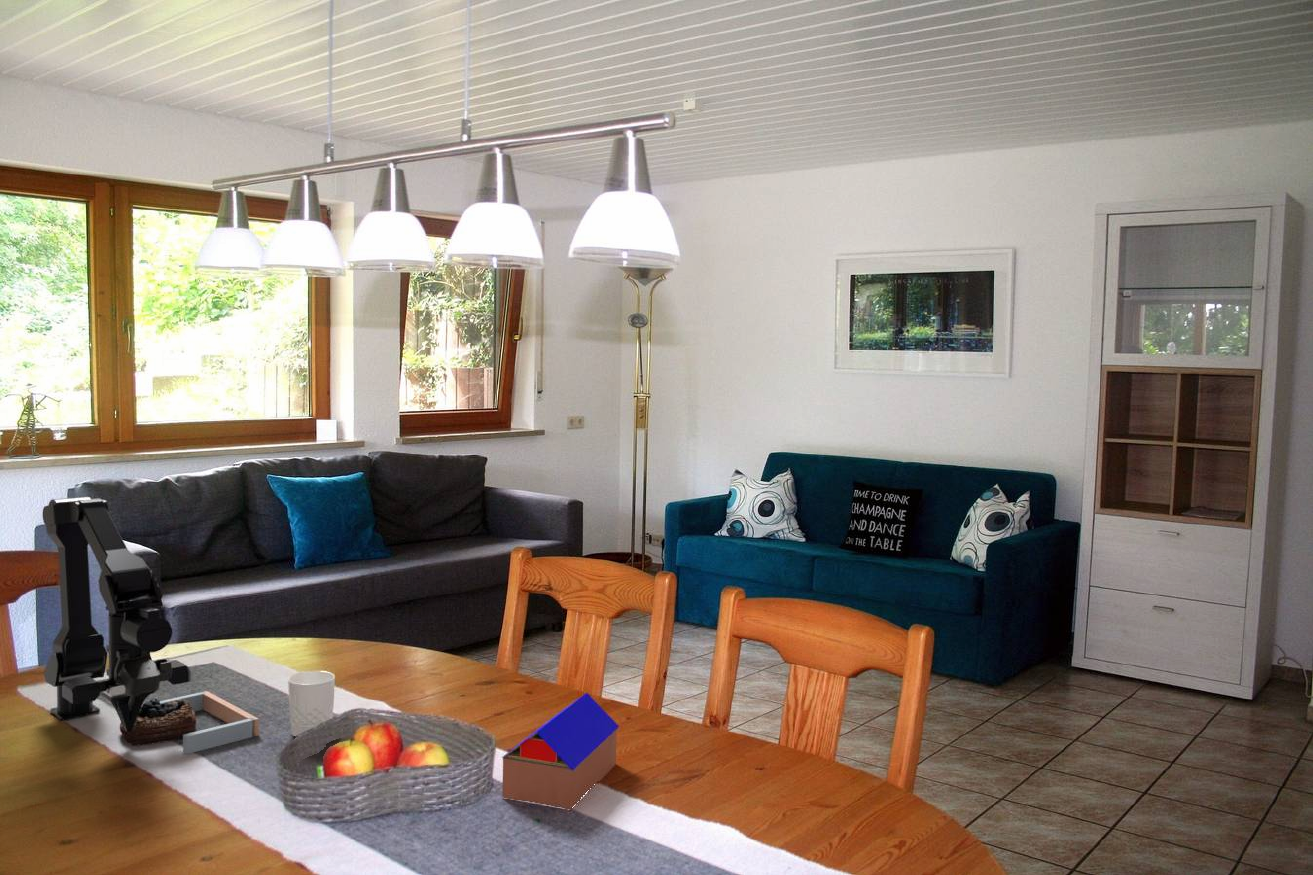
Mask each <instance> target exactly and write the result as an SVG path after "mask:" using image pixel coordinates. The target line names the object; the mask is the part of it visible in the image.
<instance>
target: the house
mask: <svg viewBox="0 0 1313 875" xmlns="http://www.w3.org/2000/svg"><path fill="white" fill-rule="evenodd" d="M618 728H620V726H619V725H618V723H616V721H615V720H613V718H612V717H611V716H610V715H609V714H608V713H607V712H606V711H605V709H603V708H602V707H601V706H600V704H598V702H596V700H595V699H594V698H593V697H592V696H591V695H590V694H589V693H588V692H586V693H584V694H583V695H582V696H579V698H577V699H576V700H574V701H573V702H572V703H571V704H569V705H568V706H567V707H565V708H564V709H562V710H561V711H560V712H558V713H557V714H555V715H554V716H553V717H552V718H550V719H549V720H548V721H547V722H545V723H543V725H541V726H540V727H538V729H536V730H535V731H534V732H533V733H531V734H530V735H529V736H527V737H526V738H524V740H522V741H521V742H520V743H518V744H517V745H516V746H514V747H513V748H512V749H510V750H509V751H508V752H506V754H504V755H503V756H501V759H502V788H501V790H502V792H501V793H502V794H501V795H502V797H504V798H508V799H514V800H522V801H529V802H535V803H540V804H546V805H551V806H555V807H562V808H565V809H571V808H572V807H573V806H574V805H575V804H576V803H577V802H578V801H579V800H580V799H581V797H583V795H585V793H586V792H587V791H588V790H590V788H592V786H594V784H596V783H597V782H598V781H599V782H600V781H601V780H602V779H603V778H604V777H605V776H606V775H607V774H608V773H609V772H610V771H612V769H613V768H614V767H615V766H616V765H617V734H618V733H617V732H618V730H619V729H618ZM615 764H616V765H615ZM599 782H598V783H599ZM598 783H597V784H598ZM597 784H596V785H597ZM594 787H595V786H594ZM592 789H593V788H592ZM590 791H591V790H590ZM585 796H586V795H585ZM502 797H501V798H502Z"/></svg>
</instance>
